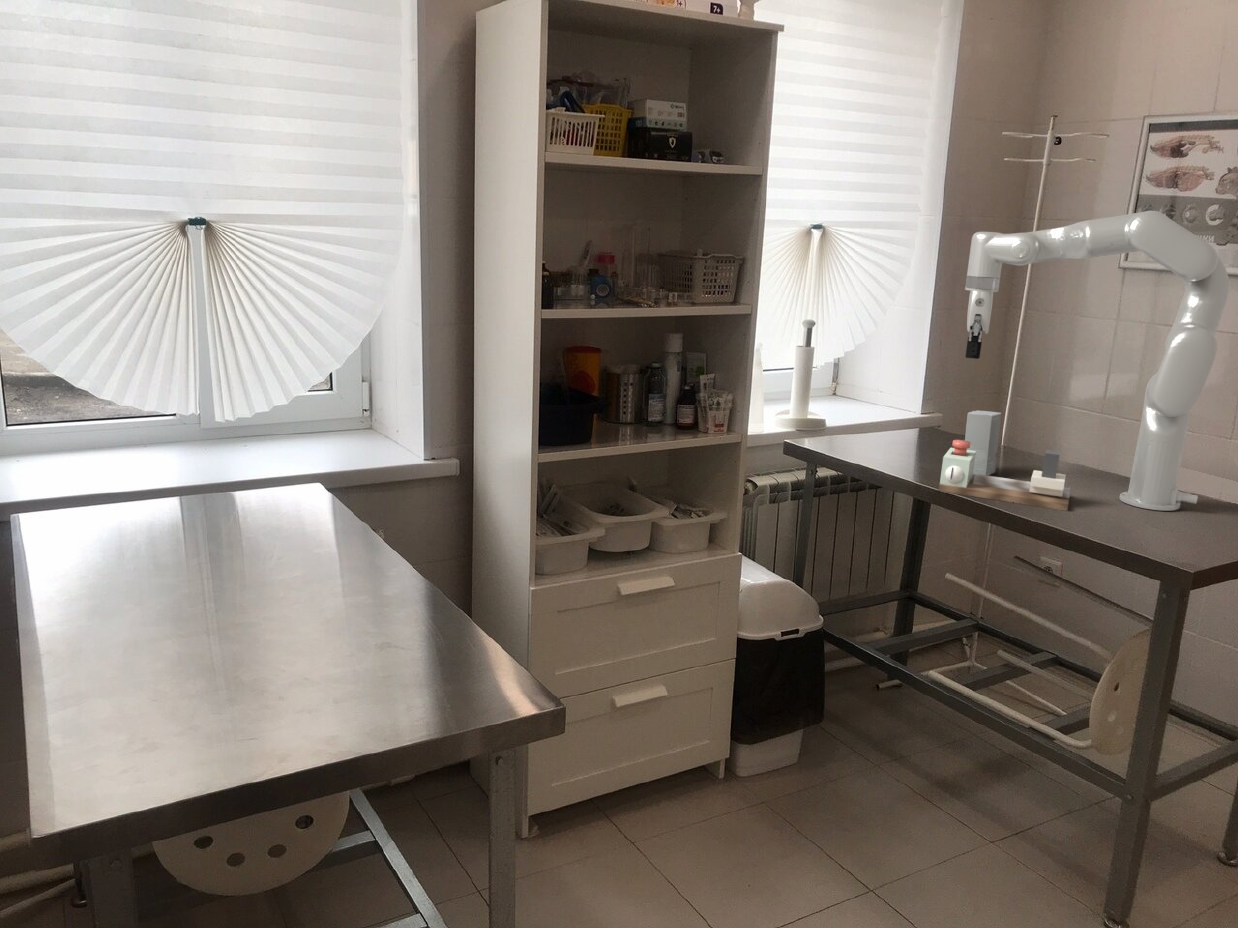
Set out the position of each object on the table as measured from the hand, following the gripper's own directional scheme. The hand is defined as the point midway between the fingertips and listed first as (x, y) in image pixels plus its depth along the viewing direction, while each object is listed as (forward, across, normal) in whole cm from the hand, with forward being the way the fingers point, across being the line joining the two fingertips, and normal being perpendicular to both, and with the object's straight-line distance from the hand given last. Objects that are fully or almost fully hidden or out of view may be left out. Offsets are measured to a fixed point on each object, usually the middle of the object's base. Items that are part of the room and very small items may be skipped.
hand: (972, 355), depth 241 cm
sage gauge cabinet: (+29, -11, 0) cm, 31 cm away
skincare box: (+31, +6, -5) cm, 32 cm away
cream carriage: (+28, -13, -20) cm, 37 cm away
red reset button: (+22, -11, 0) cm, 25 cm away
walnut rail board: (+30, -12, -11) cm, 35 cm away
